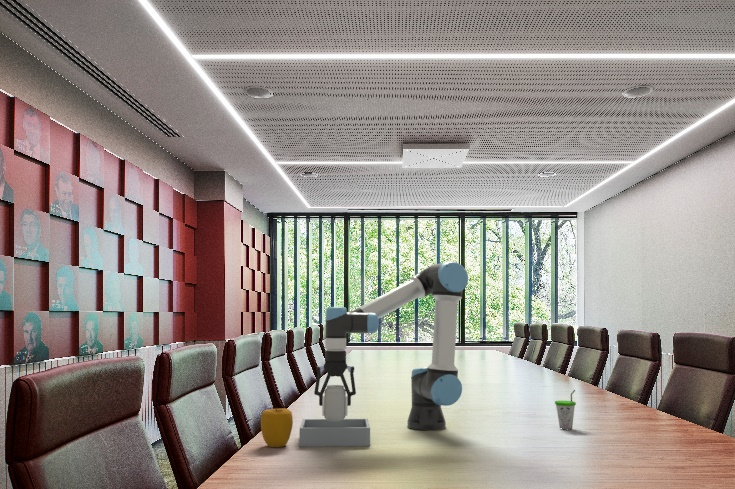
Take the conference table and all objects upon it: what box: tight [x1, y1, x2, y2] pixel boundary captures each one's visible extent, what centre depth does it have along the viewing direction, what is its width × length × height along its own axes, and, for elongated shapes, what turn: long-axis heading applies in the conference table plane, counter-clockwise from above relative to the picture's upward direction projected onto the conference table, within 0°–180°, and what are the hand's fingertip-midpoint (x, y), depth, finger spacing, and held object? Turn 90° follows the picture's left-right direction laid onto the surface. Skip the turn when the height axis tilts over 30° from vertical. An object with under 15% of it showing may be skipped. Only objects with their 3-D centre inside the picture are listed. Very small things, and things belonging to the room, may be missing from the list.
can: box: [323, 384, 347, 421], centre depth 219 cm, size 8×8×12 cm
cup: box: [554, 389, 577, 430], centre depth 241 cm, size 8×8×15 cm
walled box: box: [298, 418, 371, 447], centre depth 218 cm, size 24×18×6 cm
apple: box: [260, 407, 294, 448], centre depth 210 cm, size 11×11×13 cm
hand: (334, 415), depth 219 cm, fingers closed on can, 7 cm apart
